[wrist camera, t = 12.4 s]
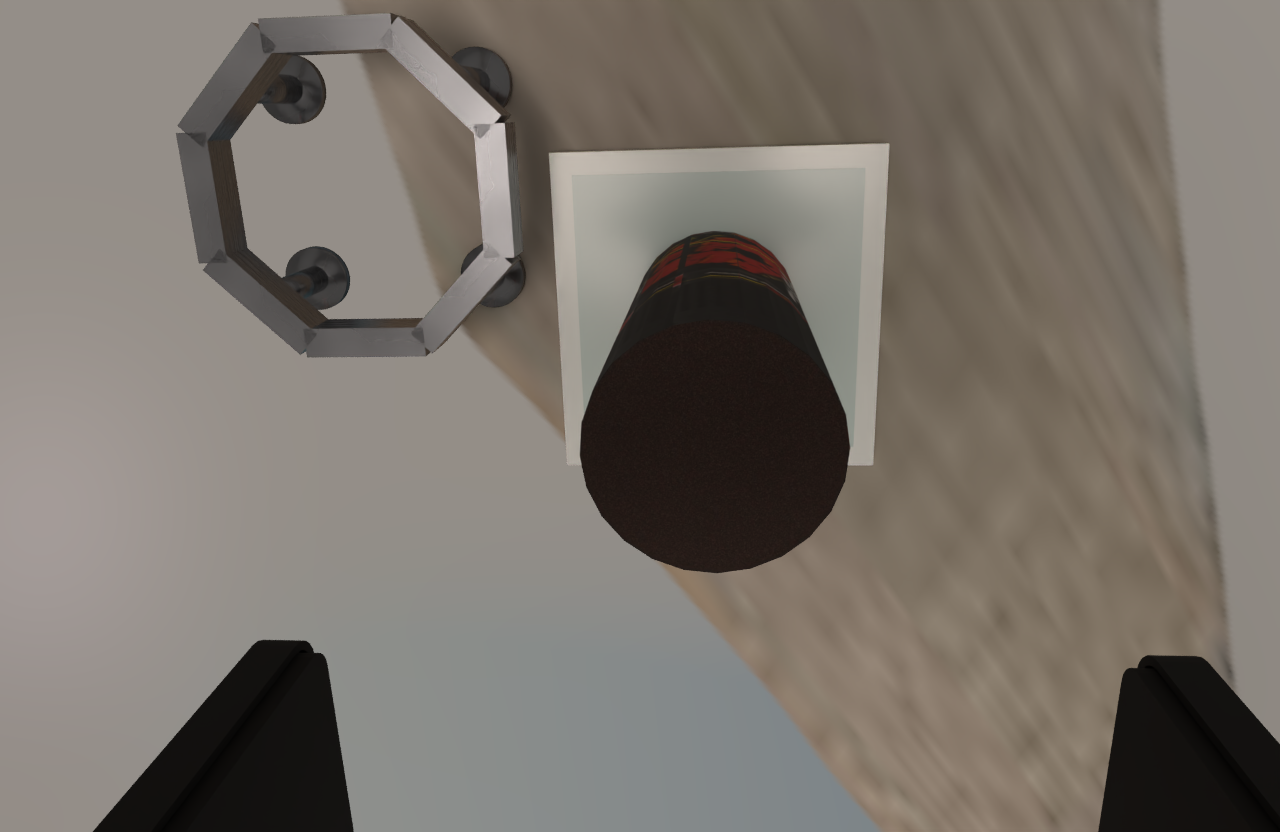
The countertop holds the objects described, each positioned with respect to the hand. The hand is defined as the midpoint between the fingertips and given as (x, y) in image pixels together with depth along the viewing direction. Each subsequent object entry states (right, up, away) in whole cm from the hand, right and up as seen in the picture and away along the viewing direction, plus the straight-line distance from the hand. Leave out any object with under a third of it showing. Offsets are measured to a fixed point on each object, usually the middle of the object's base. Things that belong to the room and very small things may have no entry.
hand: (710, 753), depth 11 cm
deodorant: (+2, +8, +24) cm, 25 cm away
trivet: (+2, +8, +25) cm, 26 cm away
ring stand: (-10, +13, +24) cm, 29 cm away
